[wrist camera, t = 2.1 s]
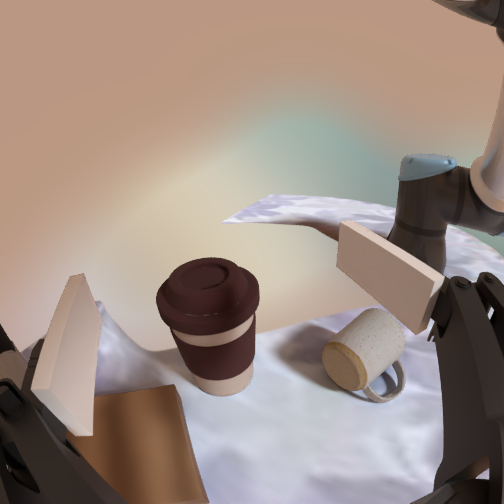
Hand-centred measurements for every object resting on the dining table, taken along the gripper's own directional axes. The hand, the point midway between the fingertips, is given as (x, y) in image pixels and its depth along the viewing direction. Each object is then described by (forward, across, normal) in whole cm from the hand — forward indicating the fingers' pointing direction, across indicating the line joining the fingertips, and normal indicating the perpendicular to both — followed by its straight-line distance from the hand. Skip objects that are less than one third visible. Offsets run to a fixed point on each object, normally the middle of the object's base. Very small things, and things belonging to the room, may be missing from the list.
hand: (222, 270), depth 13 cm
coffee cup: (+11, 0, -22) cm, 24 cm away
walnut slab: (+2, -13, -21) cm, 25 cm away
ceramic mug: (+3, +16, -22) cm, 27 cm away
